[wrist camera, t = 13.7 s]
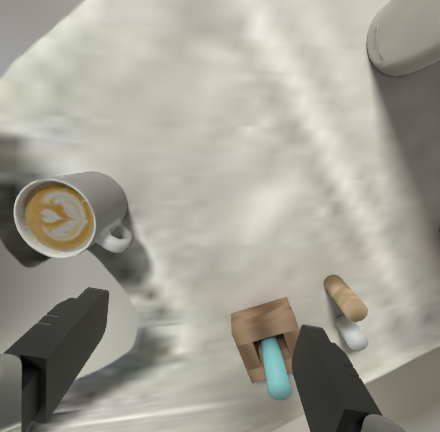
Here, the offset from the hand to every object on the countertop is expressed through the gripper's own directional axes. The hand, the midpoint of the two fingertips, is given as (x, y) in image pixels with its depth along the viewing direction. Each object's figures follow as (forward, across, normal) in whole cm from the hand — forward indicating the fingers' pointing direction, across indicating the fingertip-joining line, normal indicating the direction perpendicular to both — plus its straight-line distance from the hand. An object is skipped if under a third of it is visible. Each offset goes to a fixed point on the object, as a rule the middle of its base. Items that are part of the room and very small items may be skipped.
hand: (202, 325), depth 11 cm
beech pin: (+30, -21, +11) cm, 38 cm away
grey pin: (+30, -25, +18) cm, 43 cm away
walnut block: (+30, -12, +22) cm, 39 cm away
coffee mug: (+30, +18, +6) cm, 35 cm away
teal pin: (+30, -12, +22) cm, 39 cm away
